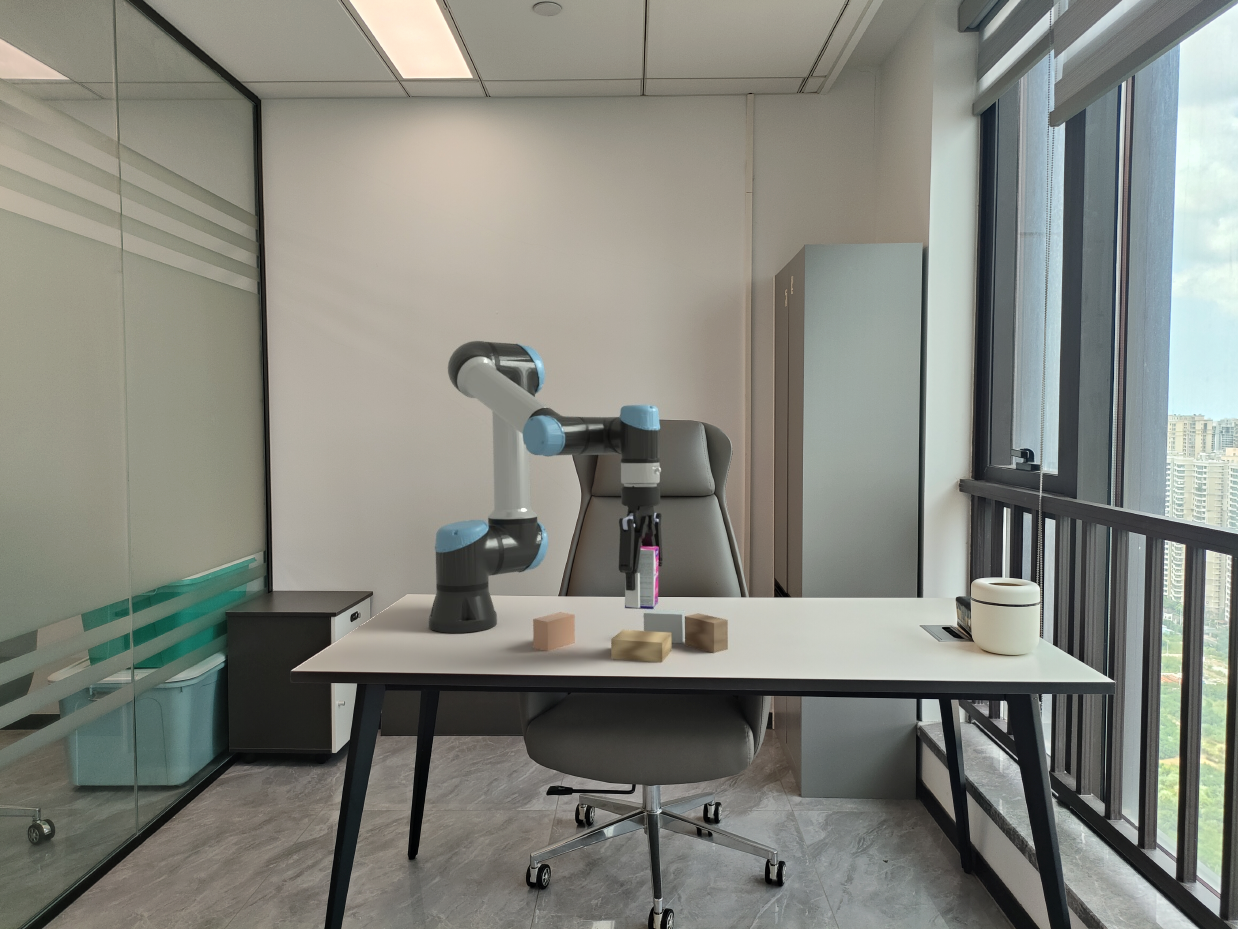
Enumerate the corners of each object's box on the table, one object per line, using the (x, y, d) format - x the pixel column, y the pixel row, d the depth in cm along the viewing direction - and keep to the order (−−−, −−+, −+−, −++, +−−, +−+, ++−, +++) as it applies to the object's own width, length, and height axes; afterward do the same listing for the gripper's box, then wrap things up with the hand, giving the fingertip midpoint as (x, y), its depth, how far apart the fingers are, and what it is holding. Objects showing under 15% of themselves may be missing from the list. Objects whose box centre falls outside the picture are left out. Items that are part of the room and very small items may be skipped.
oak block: (611, 660, 149) (611, 639, 149) (622, 649, 157) (622, 629, 157) (662, 663, 146) (662, 642, 146) (671, 652, 154) (671, 632, 154)
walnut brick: (684, 645, 159) (684, 616, 158) (698, 642, 161) (698, 613, 161) (714, 653, 152) (714, 623, 152) (727, 649, 155) (727, 619, 155)
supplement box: (654, 609, 148) (653, 549, 147) (624, 608, 149) (623, 549, 149) (659, 603, 154) (658, 545, 153) (630, 602, 155) (629, 545, 154)
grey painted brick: (643, 641, 162) (643, 613, 162) (647, 637, 166) (647, 608, 165) (682, 643, 160) (682, 614, 160) (684, 638, 164) (684, 610, 164)
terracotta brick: (547, 651, 155) (547, 621, 154) (533, 648, 157) (533, 619, 157) (574, 643, 161) (574, 614, 161) (560, 640, 163) (560, 612, 163)
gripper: (634, 488, 140) (635, 615, 141) (679, 482, 158) (680, 595, 158) (598, 487, 144) (599, 611, 144) (646, 482, 161) (647, 592, 162)
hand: (641, 603), depth 151 cm, fingers closed on supplement box, 7 cm apart
